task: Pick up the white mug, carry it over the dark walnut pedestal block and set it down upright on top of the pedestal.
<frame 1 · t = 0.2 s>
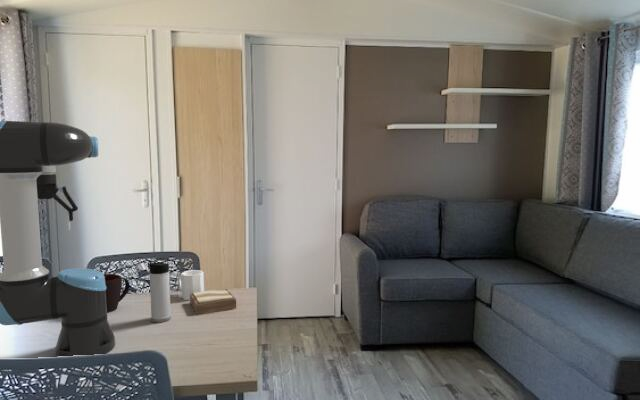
hand: (47, 231, 162), 28 cm above the table, fingers open, 13 cm apart
mug 2: (111, 309, 160), on the table
travel mug: (160, 320, 150), on the table
mug: (189, 296, 174), on the table
pedestal: (212, 305, 163), on the table
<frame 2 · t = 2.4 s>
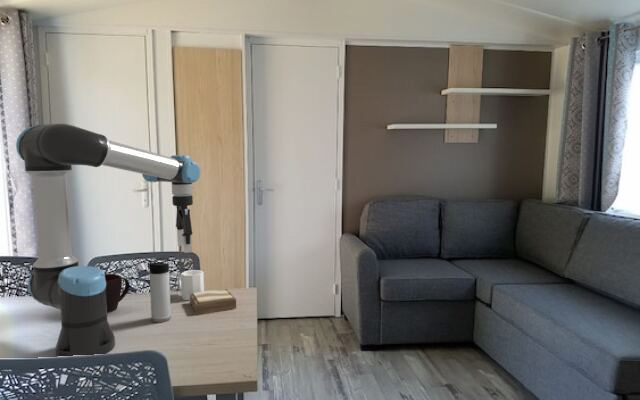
hand: (184, 248, 172), 19 cm above the table, fingers open, 13 cm apart
nothing on the table moved.
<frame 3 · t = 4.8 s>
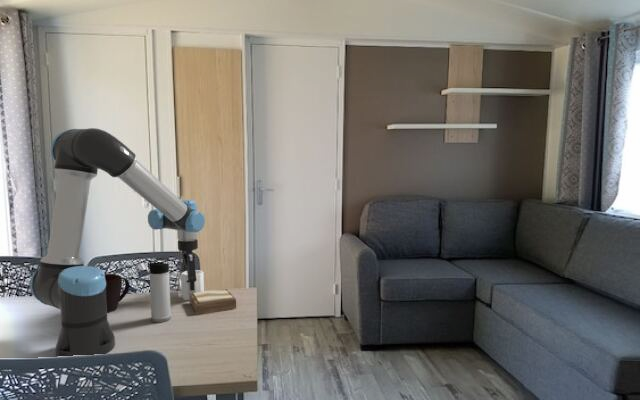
hand: (189, 293, 174), 1 cm above the table, fingers open, 11 cm apart
mug: (189, 296, 174), on the table, touching gripper
everything else where it was.
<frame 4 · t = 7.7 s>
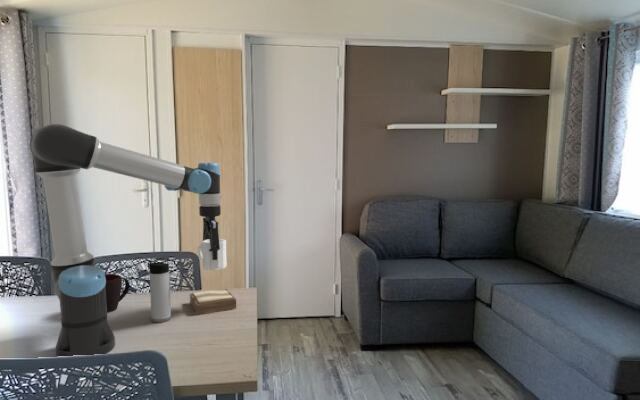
hand: (211, 265, 162), 15 cm above the table, fingers closed on mug, 9 cm apart
mug: (210, 266, 163), point 15 cm above the table, touching gripper
everything else where it was.
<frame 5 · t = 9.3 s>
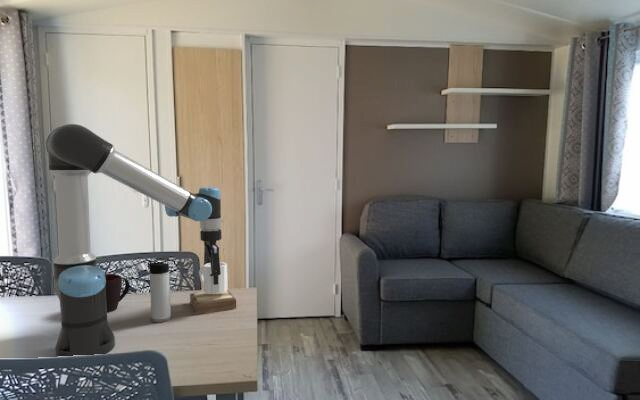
hand: (212, 288, 163), 6 cm above the table, fingers closed on mug, 9 cm apart
mug: (211, 290, 164), point 6 cm above the table, touching gripper
everything else where it was.
when the fingers open (6 cm above the table, at t = 10.3 s): mug drops 1 cm, resting on pedestal.
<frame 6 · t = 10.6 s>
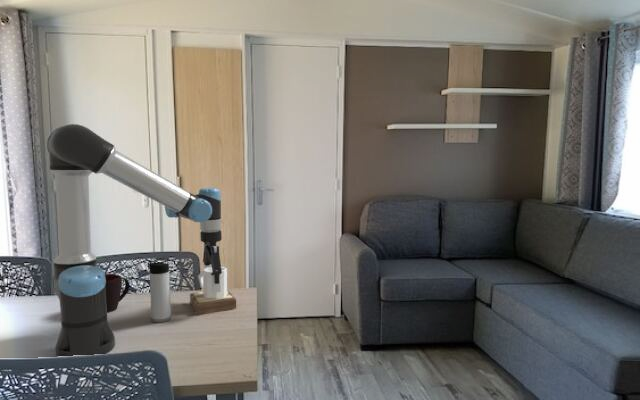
hand: (212, 287, 163), 7 cm above the table, fingers open, 13 cm apart
mug: (211, 295, 164), point 4 cm above the table, touching pedestal
everything else where it was.
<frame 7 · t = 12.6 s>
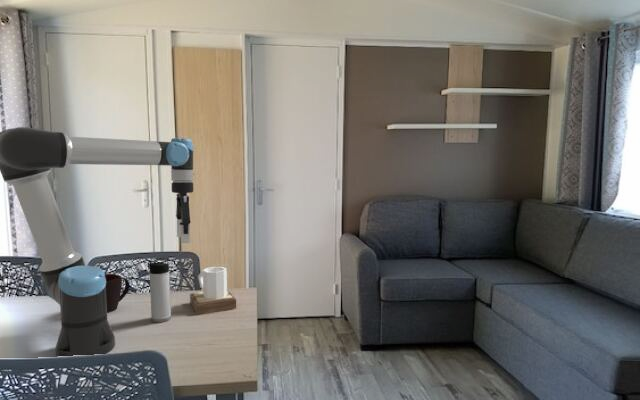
hand: (183, 239, 160), 25 cm above the table, fingers open, 13 cm apart
nothing on the table moved.
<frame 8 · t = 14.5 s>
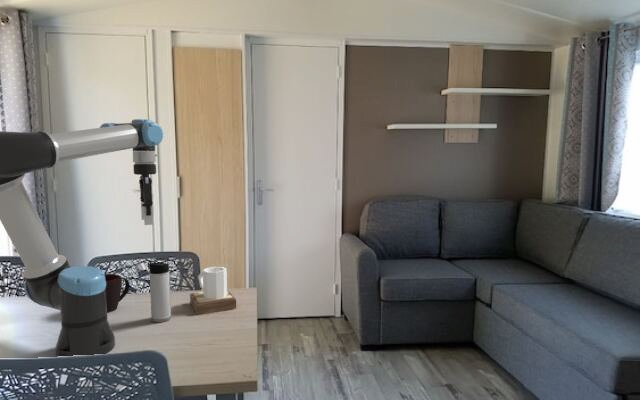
hand: (147, 222, 159), 32 cm above the table, fingers open, 13 cm apart
nothing on the table moved.
at the end: mug inside the target area on the pedestal (0.9 cm from its centre), point 3.8 cm above the pedestal's base; mug tilted 0°; the gripper is holding nothing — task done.
